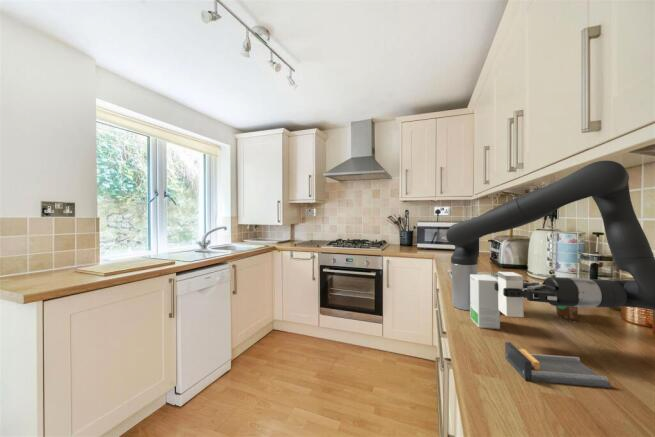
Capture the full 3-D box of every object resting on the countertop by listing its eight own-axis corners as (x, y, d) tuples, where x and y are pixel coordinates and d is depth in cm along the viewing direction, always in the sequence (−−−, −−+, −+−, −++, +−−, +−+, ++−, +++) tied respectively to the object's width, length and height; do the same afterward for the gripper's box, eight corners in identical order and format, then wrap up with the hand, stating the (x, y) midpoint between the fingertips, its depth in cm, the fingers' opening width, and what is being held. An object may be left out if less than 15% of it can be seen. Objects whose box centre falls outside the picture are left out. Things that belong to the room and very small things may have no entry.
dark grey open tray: (505, 358, 64) (505, 342, 64) (576, 363, 60) (576, 346, 60) (525, 380, 55) (524, 361, 55) (610, 388, 52) (609, 368, 52)
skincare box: (470, 318, 90) (468, 274, 90) (490, 319, 88) (489, 274, 89) (479, 328, 81) (477, 279, 82) (502, 329, 80) (500, 279, 80)
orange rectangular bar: (520, 357, 62) (519, 348, 62) (524, 357, 61) (524, 349, 61) (534, 371, 56) (534, 362, 56) (539, 371, 55) (539, 362, 56)
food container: (551, 309, 96) (550, 282, 96) (574, 312, 92) (573, 285, 93) (553, 319, 87) (552, 290, 87) (578, 323, 83) (577, 292, 83)
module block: (498, 309, 74) (497, 271, 74) (514, 310, 73) (513, 272, 73) (506, 316, 69) (505, 275, 69) (523, 317, 68) (522, 276, 68)
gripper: (552, 272, 75) (488, 270, 79) (591, 284, 61) (511, 282, 65) (553, 297, 75) (489, 295, 79) (592, 316, 61) (512, 312, 65)
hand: (499, 289), depth 72 cm, fingers closed on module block, 5 cm apart
